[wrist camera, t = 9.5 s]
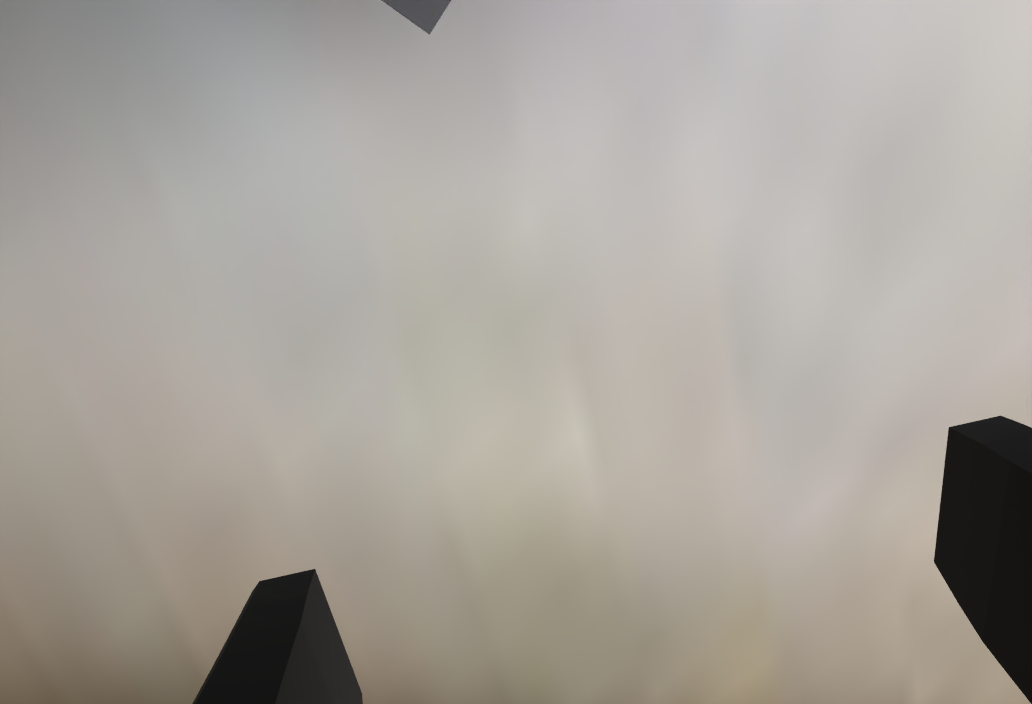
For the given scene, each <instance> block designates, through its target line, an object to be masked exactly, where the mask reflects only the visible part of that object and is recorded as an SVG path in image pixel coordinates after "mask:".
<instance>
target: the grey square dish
mask: <svg viewBox="0 0 1032 704" xmlns="http://www.w3.org/2000/svg"><path fill="white" fill-rule="evenodd" d="M382 1H383V2H385V3H386V4H387V5H389V6H390V7H392V8H393V9H394V10H396V11H397V12H399V13H400V14H401V15H403V16H404V17H406V18H407V19H408V20H410V21H411V22H413V23H414V24H415V25H417V26H418V27H420V28H421V29H423V30H424V31H425V32H427V33H428V34H430V33H431V31H432V30H433V28H434V27H435V25H436V23H437V22H438V20H439V19H440V17H441V15H442V14H443V12H444V11H445V9H446V8H447V6H448V4H449V3H450V1H451V0H382Z"/></svg>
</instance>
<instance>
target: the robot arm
mask: <svg viewBox="0 0 1032 704" xmlns="http://www.w3.org/2000/svg"><path fill="white" fill-rule="evenodd" d="M934 563H935V564H936V566H937V568H938V569H939V571H940V573H941V574H942V576H943V578H944V580H945V581H946V583H947V585H948V586H949V588H950V590H951V591H952V593H953V595H954V597H955V598H956V600H957V602H958V603H959V605H960V607H961V608H962V610H963V611H964V613H965V614H966V616H967V618H968V619H969V621H970V622H971V624H972V626H973V627H974V629H975V630H976V632H977V633H978V635H979V637H980V638H981V640H982V641H983V643H984V644H985V645H986V646H987V648H988V649H989V650H990V652H991V653H992V654H993V656H994V657H995V658H996V659H997V661H998V662H999V663H1000V665H1001V666H1002V667H1003V668H1004V670H1005V671H1006V672H1007V673H1008V675H1009V676H1010V677H1011V678H1012V680H1013V681H1014V682H1015V684H1016V685H1017V686H1018V687H1019V689H1020V690H1021V691H1022V692H1023V694H1024V695H1025V696H1026V697H1027V699H1028V700H1029V701H1030V703H1031V704H1032V428H1031V427H1028V426H1026V425H1023V424H1021V423H1018V422H1016V421H1013V420H1011V419H1008V418H1005V417H1003V416H998V417H993V418H989V419H984V420H980V421H975V422H971V423H966V424H962V425H957V426H953V427H949V431H948V440H947V449H946V458H945V467H944V476H943V485H942V494H941V503H940V512H939V521H938V530H937V539H936V548H935V557H934ZM193 704H363V702H362V693H361V690H360V687H359V685H358V682H357V679H356V677H355V674H354V671H353V669H352V666H351V663H350V661H349V658H348V655H347V653H346V650H345V647H344V645H343V642H342V639H341V637H340V634H339V631H338V629H337V626H336V623H335V621H334V618H333V616H332V613H331V610H330V608H329V605H328V602H327V600H326V597H325V594H324V592H323V589H322V586H321V584H320V581H319V578H318V576H317V573H316V570H315V569H313V570H308V571H304V572H299V573H295V574H290V575H286V576H281V577H277V578H272V579H268V580H263V581H259V583H258V584H257V586H256V587H255V588H254V590H253V591H252V593H251V595H250V597H249V599H248V601H247V603H246V604H245V606H244V608H243V610H242V612H241V614H240V616H239V618H238V620H237V622H236V624H235V626H234V627H233V629H232V631H231V633H230V635H229V637H228V639H227V641H226V643H225V645H224V647H223V648H222V650H221V652H220V654H219V656H218V658H217V660H216V662H215V663H214V665H213V667H212V669H211V671H210V673H209V674H208V676H207V678H206V680H205V682H204V684H203V685H202V687H201V689H200V691H199V693H198V695H197V696H196V698H195V700H194V702H193Z"/></svg>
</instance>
